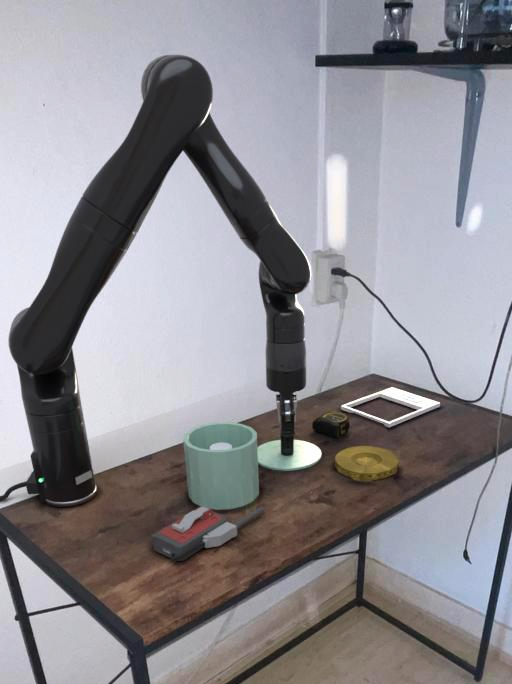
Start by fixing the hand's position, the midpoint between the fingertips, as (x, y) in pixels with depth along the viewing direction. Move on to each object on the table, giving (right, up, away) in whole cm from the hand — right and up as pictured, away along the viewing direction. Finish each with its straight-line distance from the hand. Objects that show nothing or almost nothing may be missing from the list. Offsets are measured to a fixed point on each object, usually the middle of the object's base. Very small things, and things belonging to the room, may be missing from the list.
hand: (287, 446), depth 136 cm
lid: (0, -2, +1) cm, 2 cm away
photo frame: (+24, +11, +24) cm, 35 cm away
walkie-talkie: (-13, -17, -23) cm, 32 cm away
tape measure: (+10, +4, +11) cm, 15 cm away
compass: (+15, -5, -3) cm, 16 cm away
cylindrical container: (-11, -10, -12) cm, 19 cm away
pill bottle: (-11, -9, -12) cm, 19 cm away
